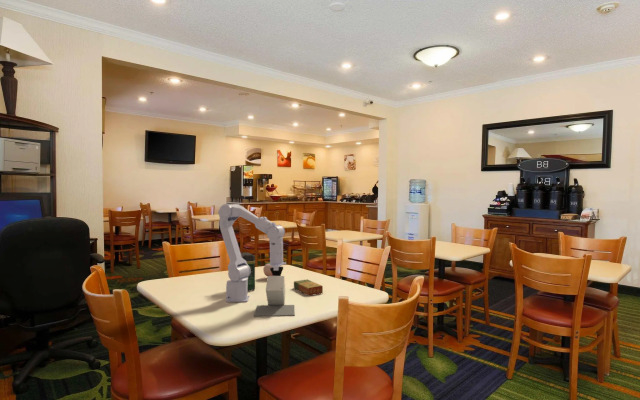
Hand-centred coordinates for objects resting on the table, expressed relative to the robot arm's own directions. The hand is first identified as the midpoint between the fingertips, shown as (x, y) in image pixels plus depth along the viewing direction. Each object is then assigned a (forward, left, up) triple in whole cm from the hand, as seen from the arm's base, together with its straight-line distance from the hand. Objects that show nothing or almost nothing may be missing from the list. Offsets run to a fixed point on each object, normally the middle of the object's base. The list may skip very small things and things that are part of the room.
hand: (277, 283), depth 158 cm
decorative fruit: (-5, +50, -9) cm, 51 cm away
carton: (+15, +23, -10) cm, 29 cm away
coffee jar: (-16, +27, -9) cm, 33 cm away
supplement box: (0, +2, -7) cm, 7 cm away
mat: (0, -8, -9) cm, 12 cm away
